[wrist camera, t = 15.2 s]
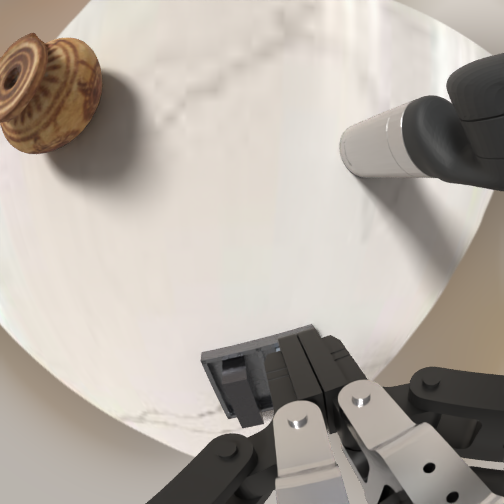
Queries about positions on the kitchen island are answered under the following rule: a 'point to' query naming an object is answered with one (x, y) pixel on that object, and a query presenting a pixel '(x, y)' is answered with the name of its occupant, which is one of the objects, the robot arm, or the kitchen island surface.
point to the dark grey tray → (243, 377)
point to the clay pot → (47, 92)
